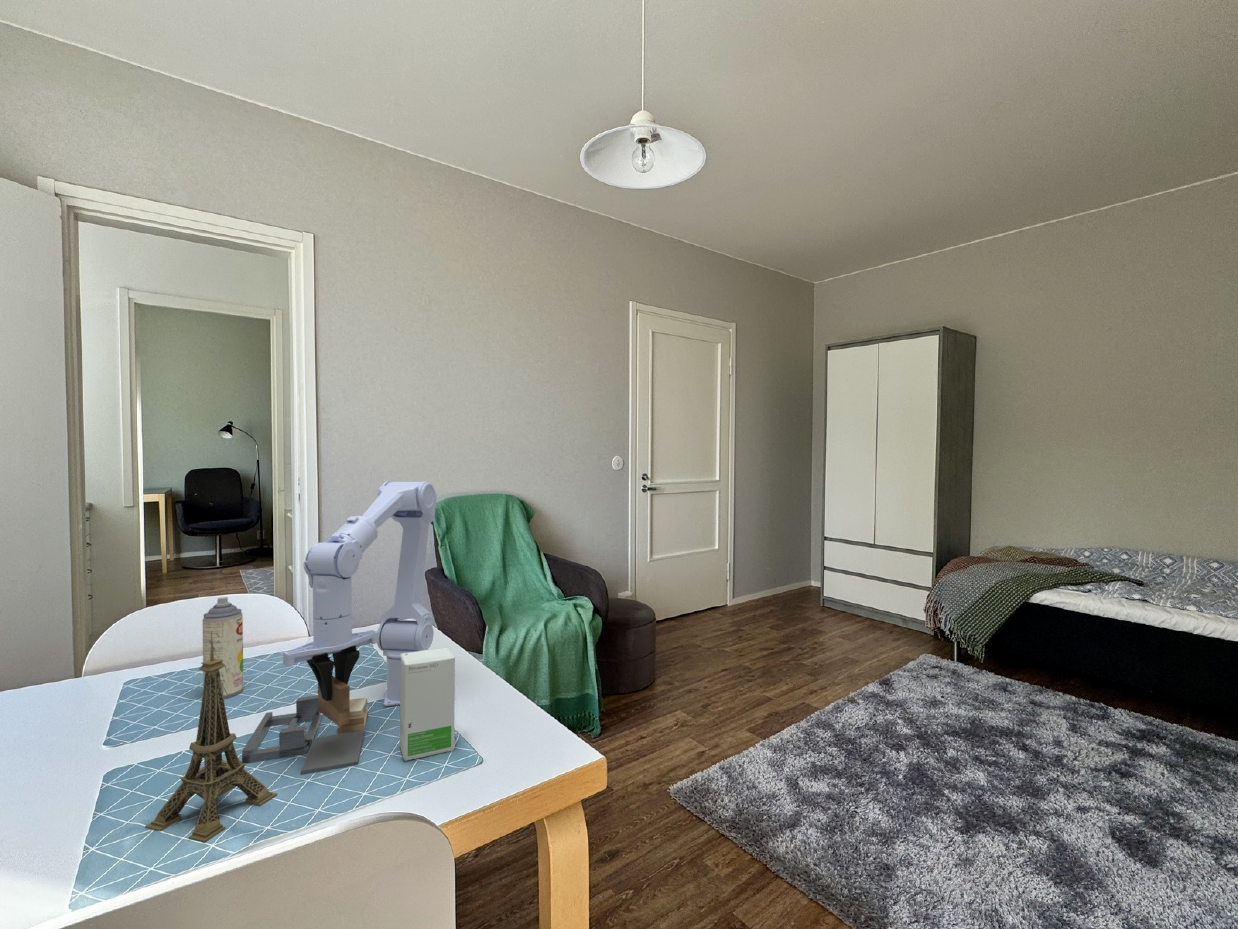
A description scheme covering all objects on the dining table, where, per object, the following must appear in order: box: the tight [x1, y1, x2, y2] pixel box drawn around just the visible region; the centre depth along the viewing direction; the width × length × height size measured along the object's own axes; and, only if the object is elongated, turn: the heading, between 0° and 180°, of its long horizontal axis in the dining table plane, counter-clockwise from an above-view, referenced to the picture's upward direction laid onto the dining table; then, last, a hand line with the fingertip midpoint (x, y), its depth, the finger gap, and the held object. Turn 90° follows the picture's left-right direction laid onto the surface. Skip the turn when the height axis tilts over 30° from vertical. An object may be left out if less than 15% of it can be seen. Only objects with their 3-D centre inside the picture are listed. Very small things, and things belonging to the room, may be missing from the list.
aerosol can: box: [202, 596, 244, 700], centre depth 117 cm, size 7×7×20 cm
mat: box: [300, 730, 366, 775], centre depth 93 cm, size 8×11×1 cm
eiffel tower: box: [144, 631, 278, 843], centre depth 78 cm, size 11×11×25 cm
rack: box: [241, 694, 322, 764], centre depth 98 cm, size 9×15×4 cm, turn 19°
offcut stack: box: [336, 697, 369, 735], centre depth 103 cm, size 4×7×3 cm, turn 19°
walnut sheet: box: [317, 675, 351, 727], centre depth 93 cm, size 2×8×6 cm, turn 50°
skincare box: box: [399, 647, 456, 762], centre depth 94 cm, size 8×7×16 cm
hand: (333, 696), depth 93 cm, fingers closed on walnut sheet, 2 cm apart
